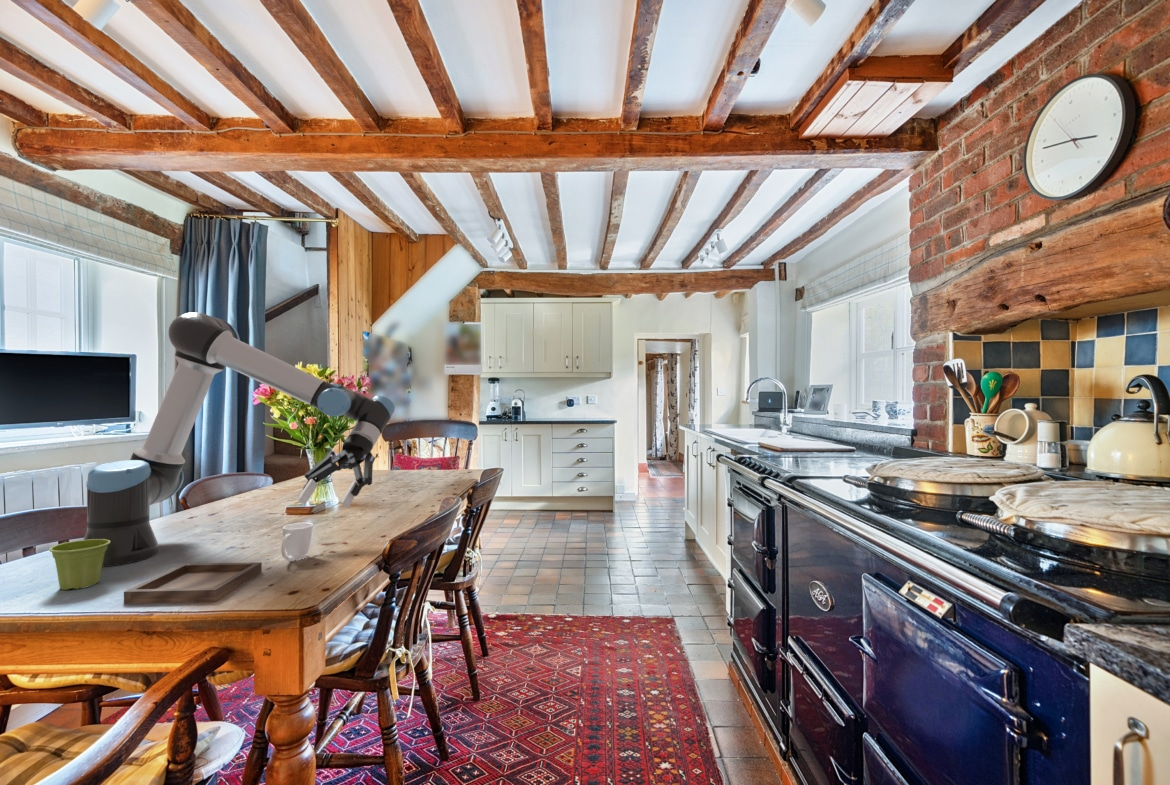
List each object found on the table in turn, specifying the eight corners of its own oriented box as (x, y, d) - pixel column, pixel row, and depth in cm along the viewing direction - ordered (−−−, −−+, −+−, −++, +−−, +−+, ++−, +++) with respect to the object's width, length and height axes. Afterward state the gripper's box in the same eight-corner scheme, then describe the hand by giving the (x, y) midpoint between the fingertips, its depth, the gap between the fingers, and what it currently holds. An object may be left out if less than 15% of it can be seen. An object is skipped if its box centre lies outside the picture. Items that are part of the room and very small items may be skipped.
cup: (319, 553, 135) (319, 522, 135) (297, 566, 125) (297, 532, 125) (292, 553, 136) (292, 522, 136) (268, 566, 125) (268, 532, 126)
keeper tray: (123, 603, 103) (123, 591, 103) (183, 573, 120) (183, 563, 120) (215, 601, 104) (215, 589, 104) (261, 572, 121) (261, 562, 121)
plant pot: (95, 575, 119) (95, 536, 119) (119, 581, 115) (119, 541, 115) (39, 589, 110) (39, 547, 110) (64, 596, 106) (64, 553, 107)
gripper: (404, 450, 152) (370, 514, 137) (331, 448, 159) (291, 508, 144) (393, 433, 147) (356, 498, 132) (318, 431, 153) (275, 492, 139)
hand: (322, 503), depth 138 cm, fingers open, 13 cm apart
